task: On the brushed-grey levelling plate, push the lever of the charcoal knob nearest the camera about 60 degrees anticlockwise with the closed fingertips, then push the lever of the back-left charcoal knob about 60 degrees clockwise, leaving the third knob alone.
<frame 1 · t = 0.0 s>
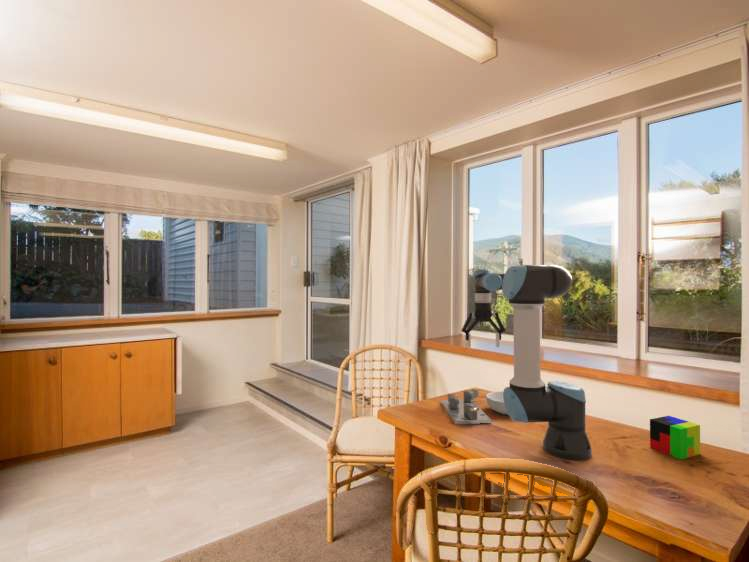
hand: (483, 347, 184), 28 cm above the table, fingers open, 13 cm apart
level plate: (464, 412, 176), on the table
cereal bowl: (505, 412, 176), on the table
knob c: (452, 400, 180), point 4 cm above the table, hinge at 0.0°
puzzle toy: (674, 451, 135), on the table
knob b: (471, 395, 189), point 4 cm above the table, hinge at 0.0°
knob a: (470, 411, 165), point 4 cm above the table, hinge at 0.0°
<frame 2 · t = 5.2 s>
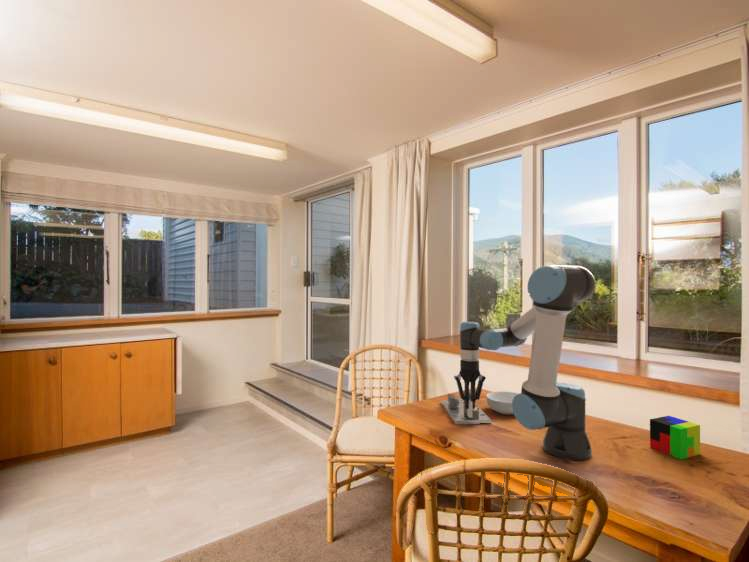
hand: (469, 416, 161), 3 cm above the table, fingers closed
knob a: (471, 411, 165), point 4 cm above the table, hinge at 6.0°, touching gripper
everything else where it was.
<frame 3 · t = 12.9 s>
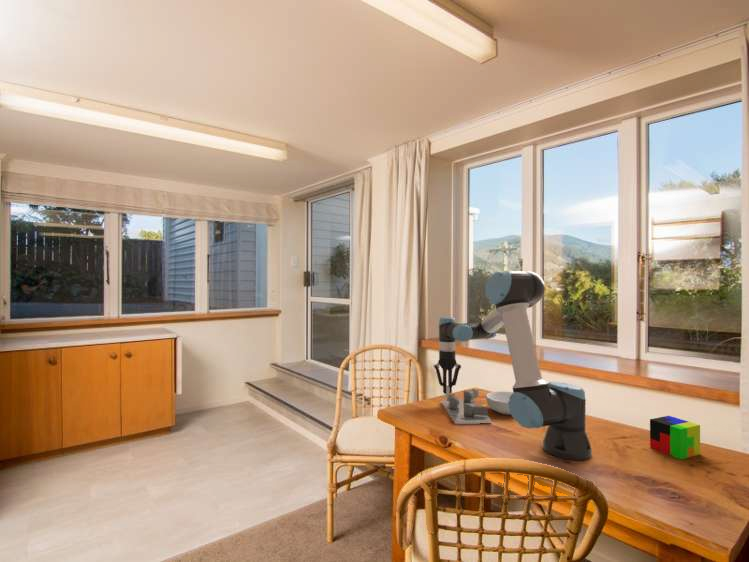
hand: (447, 400, 183), 3 cm above the table, fingers closed
knob c: (453, 400, 180), point 4 cm above the table, hinge at -2.0°, touching gripper
knob a: (475, 410, 167), point 4 cm above the table, hinge at 75.0°
everything else where it was.
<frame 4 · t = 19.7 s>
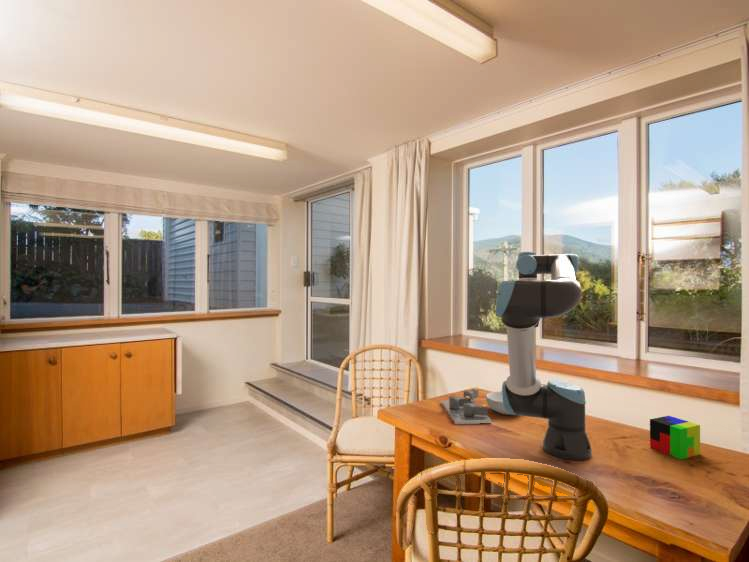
hand: (528, 343, 166), 32 cm above the table, fingers closed
knob c: (459, 402, 178), point 4 cm above the table, hinge at -81.2°
everything else where it was.
at the end: knob a at +75° (first picture: +0°); knob c at -81° (first picture: +0°); knob b at +0° (first picture: +0°) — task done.
